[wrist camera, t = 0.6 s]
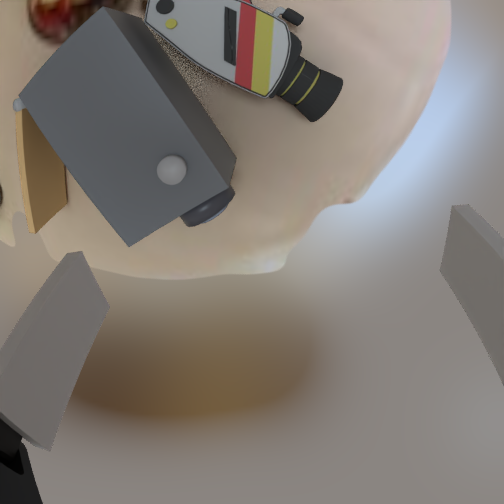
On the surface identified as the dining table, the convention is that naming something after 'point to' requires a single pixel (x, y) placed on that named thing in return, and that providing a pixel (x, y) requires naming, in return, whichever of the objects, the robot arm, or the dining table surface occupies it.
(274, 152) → the dining table surface
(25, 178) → the side door
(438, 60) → the dining table surface
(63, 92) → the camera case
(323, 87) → the film camera
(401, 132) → the dining table surface
